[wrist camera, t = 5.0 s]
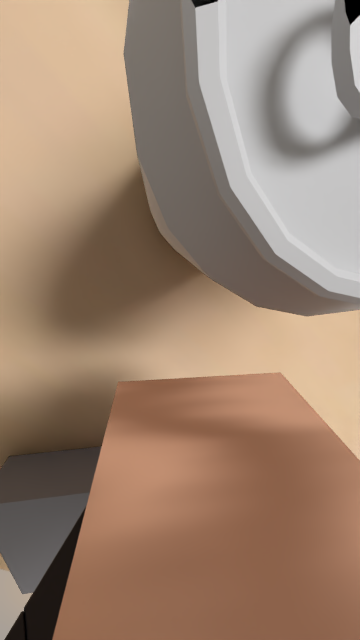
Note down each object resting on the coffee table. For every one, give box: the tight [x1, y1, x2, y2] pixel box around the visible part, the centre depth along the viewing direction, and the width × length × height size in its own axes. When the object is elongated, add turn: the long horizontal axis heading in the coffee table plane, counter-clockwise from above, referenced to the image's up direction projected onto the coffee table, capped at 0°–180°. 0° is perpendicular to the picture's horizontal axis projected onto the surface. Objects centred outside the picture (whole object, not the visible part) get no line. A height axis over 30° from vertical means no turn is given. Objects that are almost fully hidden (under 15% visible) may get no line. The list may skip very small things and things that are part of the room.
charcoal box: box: [0, 446, 102, 594], centre depth 19 cm, size 11×11×4 cm
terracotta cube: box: [52, 373, 360, 640], centre depth 7 cm, size 6×6×6 cm
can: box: [124, 0, 360, 316], centre depth 8 cm, size 8×8×12 cm
